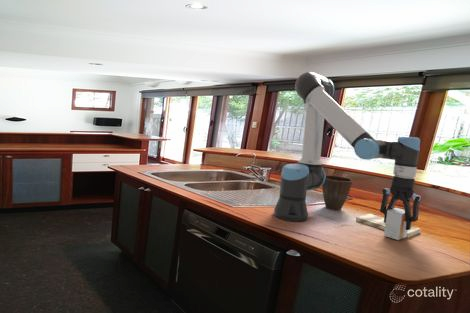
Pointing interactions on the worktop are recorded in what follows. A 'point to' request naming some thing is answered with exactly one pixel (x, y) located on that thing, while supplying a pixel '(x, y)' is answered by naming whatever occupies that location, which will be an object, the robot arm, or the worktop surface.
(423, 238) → the worktop surface
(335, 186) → the plant pot
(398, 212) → the small box
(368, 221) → the board
